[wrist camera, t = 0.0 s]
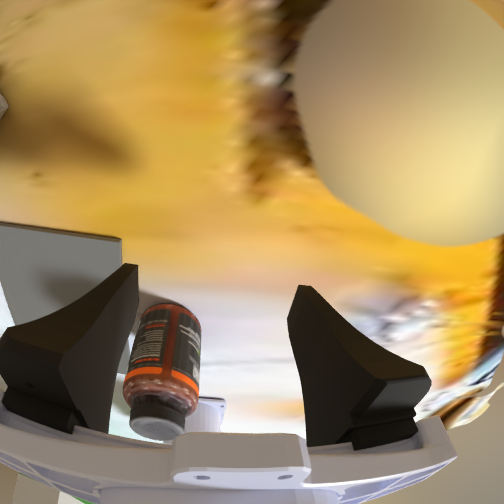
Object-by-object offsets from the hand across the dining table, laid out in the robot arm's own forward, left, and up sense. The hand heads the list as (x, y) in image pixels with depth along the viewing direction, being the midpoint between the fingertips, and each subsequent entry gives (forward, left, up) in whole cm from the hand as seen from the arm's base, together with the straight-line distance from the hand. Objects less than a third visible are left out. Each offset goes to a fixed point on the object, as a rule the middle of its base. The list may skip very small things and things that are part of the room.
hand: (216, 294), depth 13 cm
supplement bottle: (-12, +3, -10) cm, 16 cm away
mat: (-12, +15, -10) cm, 22 cm away
